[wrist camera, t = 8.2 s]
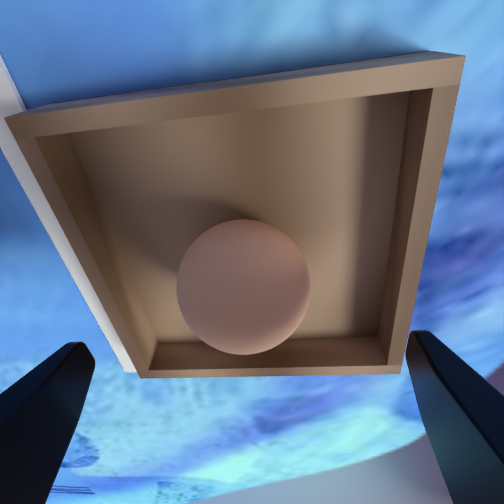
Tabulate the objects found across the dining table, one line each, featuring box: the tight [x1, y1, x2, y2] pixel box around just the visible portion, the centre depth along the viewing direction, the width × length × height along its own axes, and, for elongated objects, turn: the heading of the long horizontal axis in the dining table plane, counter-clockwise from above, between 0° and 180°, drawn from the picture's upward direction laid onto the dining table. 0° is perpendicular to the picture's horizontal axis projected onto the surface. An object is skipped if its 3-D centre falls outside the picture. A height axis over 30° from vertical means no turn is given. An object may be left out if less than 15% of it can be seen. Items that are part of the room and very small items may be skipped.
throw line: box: [0, 55, 137, 372], centre depth 14 cm, size 2×16×1 cm, turn 7°
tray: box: [4, 51, 466, 378], centre depth 12 cm, size 12×12×2 cm
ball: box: [176, 219, 311, 355], centre depth 11 cm, size 4×4×4 cm
